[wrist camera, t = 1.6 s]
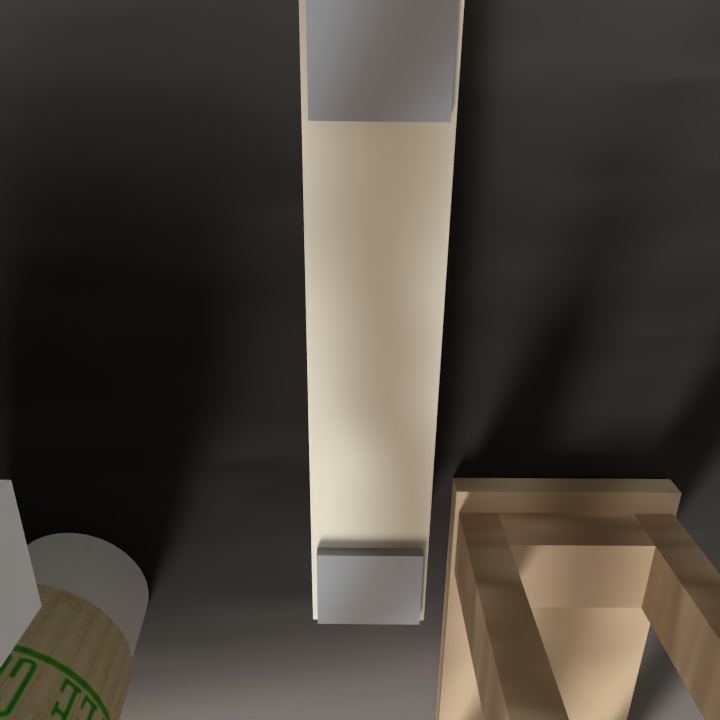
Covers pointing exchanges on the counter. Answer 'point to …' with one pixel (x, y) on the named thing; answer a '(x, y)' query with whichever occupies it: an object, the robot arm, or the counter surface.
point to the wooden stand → (571, 599)
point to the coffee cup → (76, 633)
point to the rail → (375, 290)
